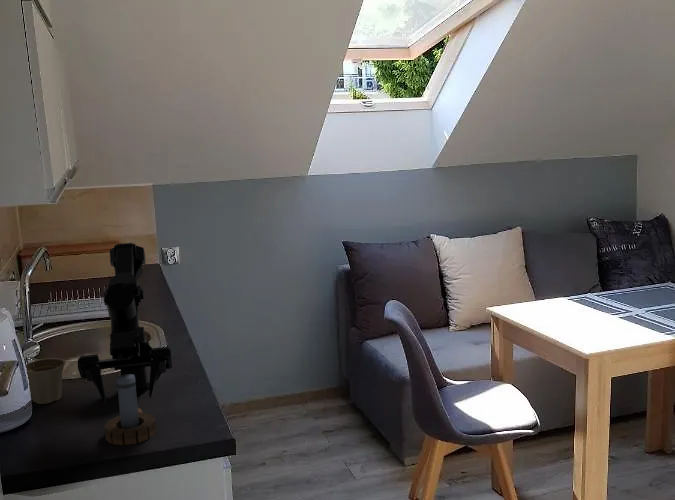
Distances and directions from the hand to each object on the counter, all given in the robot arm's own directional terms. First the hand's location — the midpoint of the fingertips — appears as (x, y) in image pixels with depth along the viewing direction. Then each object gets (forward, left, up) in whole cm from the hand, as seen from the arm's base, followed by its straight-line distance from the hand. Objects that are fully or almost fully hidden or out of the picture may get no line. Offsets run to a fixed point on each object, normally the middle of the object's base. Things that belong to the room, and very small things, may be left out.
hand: (127, 400), depth 141 cm
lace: (-10, -5, -8) cm, 14 cm away
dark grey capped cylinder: (-1, -1, -8) cm, 8 cm away
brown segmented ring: (-1, -1, -8) cm, 8 cm away
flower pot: (-14, -31, -8) cm, 35 cm away
